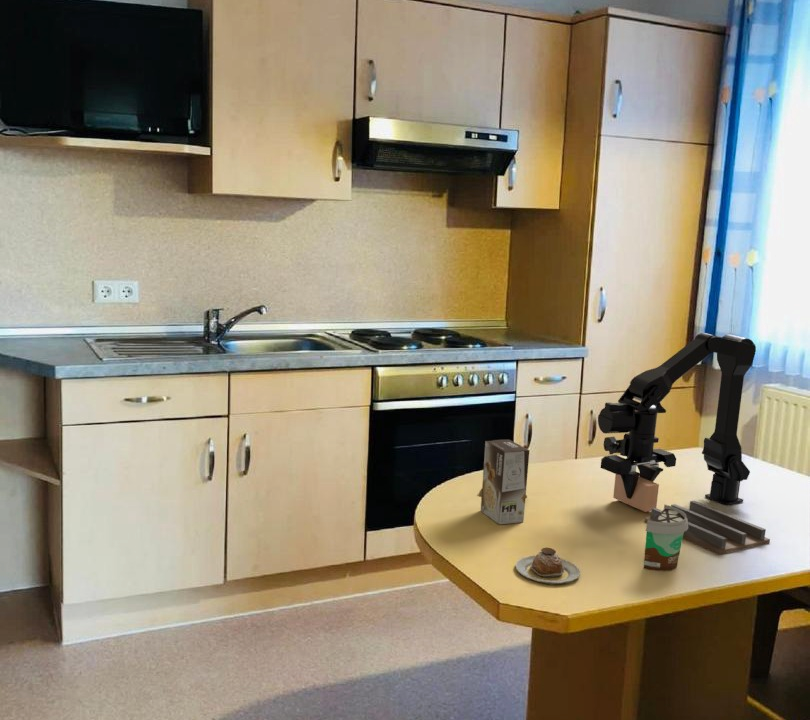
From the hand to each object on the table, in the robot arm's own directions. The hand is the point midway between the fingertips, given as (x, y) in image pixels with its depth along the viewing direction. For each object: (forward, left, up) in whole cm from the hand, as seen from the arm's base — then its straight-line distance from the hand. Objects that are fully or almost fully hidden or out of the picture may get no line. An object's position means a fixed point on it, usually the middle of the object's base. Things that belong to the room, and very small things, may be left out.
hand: (635, 497), depth 203 cm
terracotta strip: (0, 0, -2) cm, 2 cm away
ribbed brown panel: (-3, +18, -2) cm, 18 cm away
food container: (+19, +27, -2) cm, 33 cm away
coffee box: (+33, -7, -2) cm, 34 cm away
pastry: (+43, +20, -3) cm, 48 cm away
